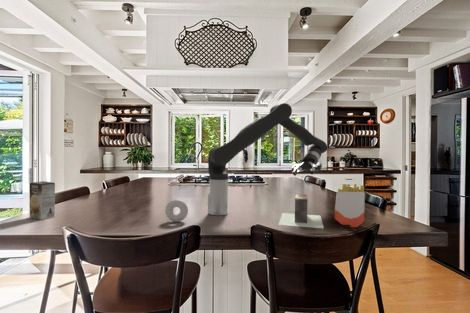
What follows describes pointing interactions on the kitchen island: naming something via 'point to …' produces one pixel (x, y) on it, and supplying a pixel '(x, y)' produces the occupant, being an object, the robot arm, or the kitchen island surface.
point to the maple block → (301, 208)
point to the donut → (179, 204)
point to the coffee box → (42, 200)
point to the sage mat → (312, 222)
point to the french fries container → (350, 205)
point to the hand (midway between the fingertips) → (302, 173)
